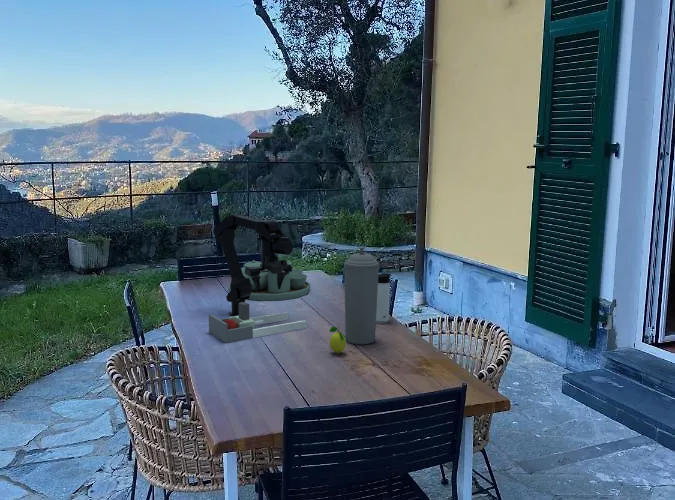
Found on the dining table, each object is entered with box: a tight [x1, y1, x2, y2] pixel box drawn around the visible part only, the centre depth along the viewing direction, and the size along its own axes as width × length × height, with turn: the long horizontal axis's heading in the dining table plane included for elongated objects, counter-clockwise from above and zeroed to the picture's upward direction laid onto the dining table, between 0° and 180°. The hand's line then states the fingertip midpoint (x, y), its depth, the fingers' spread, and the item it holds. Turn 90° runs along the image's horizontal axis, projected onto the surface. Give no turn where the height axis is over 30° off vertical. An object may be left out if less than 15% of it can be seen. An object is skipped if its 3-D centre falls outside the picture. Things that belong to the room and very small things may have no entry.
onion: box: [224, 319, 239, 330], centre depth 225 cm, size 6×6×8 cm
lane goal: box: [208, 311, 307, 344], centre depth 231 cm, size 15×34×7 cm, turn 124°
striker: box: [228, 301, 264, 329], centre depth 228 cm, size 10×12×11 cm
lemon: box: [329, 325, 347, 355], centre depth 206 cm, size 7×6×10 cm
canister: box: [343, 246, 380, 345], centre depth 218 cm, size 13×13×35 cm
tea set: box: [228, 259, 311, 302], centre depth 293 cm, size 40×40×16 cm
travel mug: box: [376, 273, 392, 325], centre depth 244 cm, size 6×7×20 cm
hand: (268, 290), depth 241 cm, fingers open, 9 cm apart
